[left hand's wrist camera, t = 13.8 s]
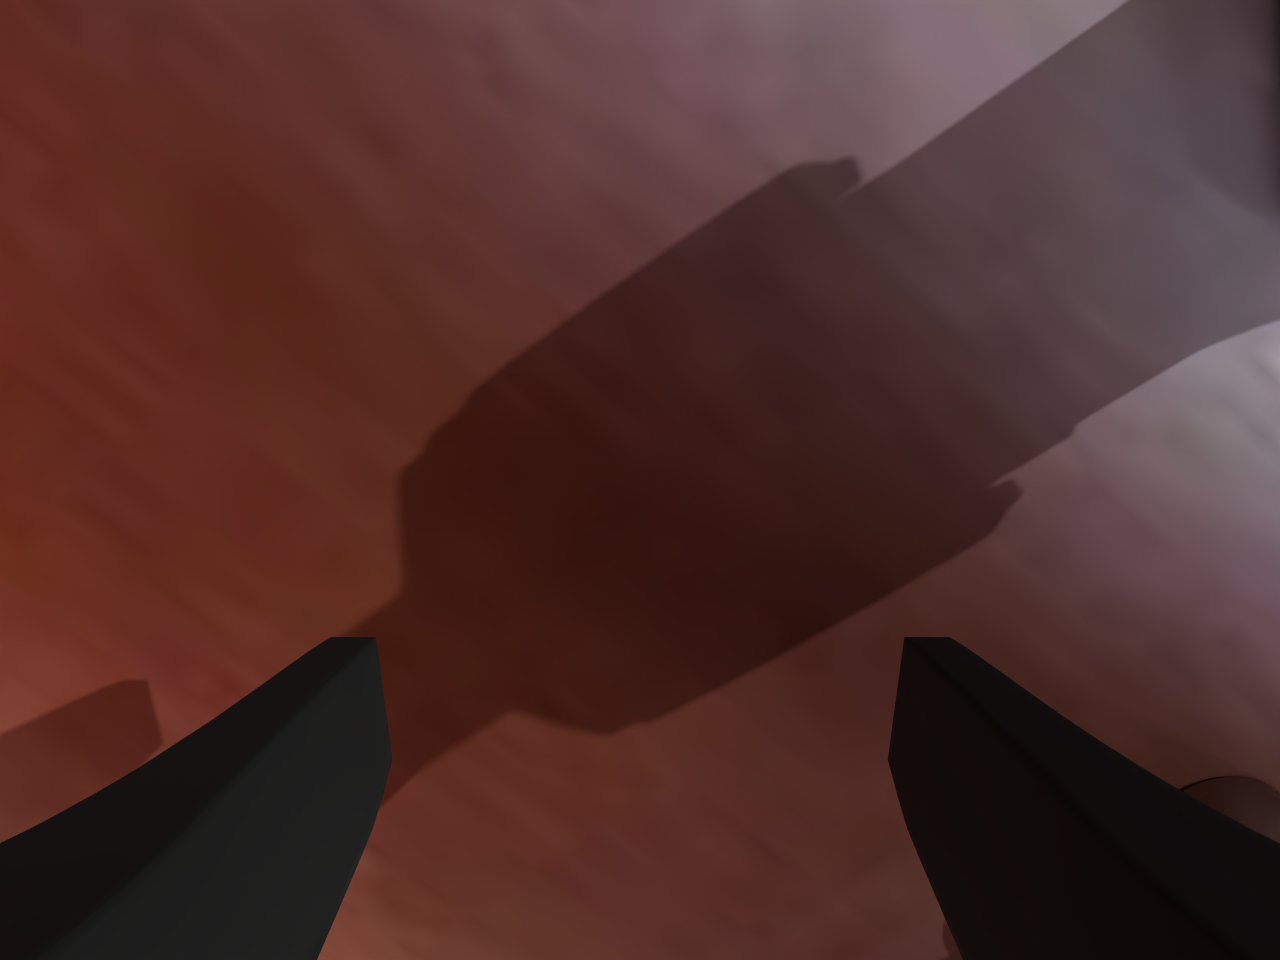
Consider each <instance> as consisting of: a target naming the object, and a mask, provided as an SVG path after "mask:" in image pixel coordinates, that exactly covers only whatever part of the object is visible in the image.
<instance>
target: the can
mask: <svg viewBox="0 0 1280 960" xmlns="http://www.w3.org/2000/svg"><path fill="white" fill-rule="evenodd" d="M1182 792H1184V793H1185V794H1187V795H1189V796H1191V797H1193V798H1195V799H1197V800H1198V801H1200V802H1202V803H1204V804H1206V805H1208V806H1209V807H1211V808H1213V809H1215V810H1217V811H1219V812H1220V813H1222V814H1224V815H1226V816H1228V817H1230V818H1232V819H1233V820H1235V821H1237V822H1239V823H1241V824H1243V825H1244V826H1246V827H1248V828H1250V829H1252V830H1254V831H1256V832H1258V833H1260V834H1262V835H1264V836H1266V837H1268V838H1270V839H1272V840H1274V841H1276V842H1278V843H1280V793H1279V792H1278V791H1277V790H1275V789H1274V788H1273V787H1271V786H1269V785H1268V784H1266V783H1263V782H1261V781H1258V780H1255V779H1251V778H1245V777H1223V778H1216V779H1211V780H1207V781H1204V782H1201V783H1198V784H1195V785H1193V786H1190V787H1188V788H1187V789H1185V790H1183V791H1182Z"/></svg>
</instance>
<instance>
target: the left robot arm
mask: <svg viewBox="0 0 1280 960" xmlns="http://www.w3.org/2000/svg"><path fill="white" fill-rule="evenodd" d="M391 762H392V755H391V747H390V740H389V733H388V725H387V718H386V711H385V703H384V696H383V689H382V681H381V674H380V667H379V659H378V652H377V645H376V637H331V638H329V639H327V640H326V641H324V642H322V643H321V644H319V645H318V646H316V647H315V648H313V649H312V650H310V651H309V652H307V653H306V654H304V655H303V656H301V657H300V658H299V659H297V660H296V661H294V662H293V663H292V664H290V665H289V666H287V667H286V668H285V669H283V670H282V671H280V672H279V673H278V674H276V675H275V676H274V677H272V678H271V679H269V680H268V681H267V682H265V683H264V684H262V685H261V686H260V687H258V688H257V689H255V690H254V691H252V692H251V693H250V694H248V695H247V696H245V697H244V698H243V699H241V700H240V701H238V702H237V703H236V704H234V705H233V706H231V707H230V708H228V709H227V710H226V711H224V712H223V713H221V714H220V715H219V716H217V717H216V718H214V719H213V720H211V721H210V722H208V723H207V724H205V725H204V726H202V727H201V728H199V729H198V730H196V731H194V732H193V733H191V734H190V735H188V736H187V737H185V738H184V739H182V740H181V741H179V742H178V743H176V744H175V745H173V746H171V747H170V748H168V749H167V750H165V751H164V752H162V753H161V754H159V755H158V756H156V757H155V758H153V759H151V760H150V761H148V762H147V763H145V764H144V765H142V766H141V767H139V768H137V769H136V770H134V771H133V772H131V773H129V774H128V775H126V776H124V777H123V778H121V779H119V780H118V781H116V782H114V783H112V784H111V785H109V786H107V787H106V788H104V789H102V790H100V791H99V792H97V793H95V794H93V795H92V796H90V797H88V798H86V799H84V800H82V801H81V802H79V803H77V804H75V805H73V806H72V807H70V808H68V809H66V810H64V811H62V812H61V813H59V814H57V815H55V816H53V817H52V818H50V819H48V820H46V821H44V822H42V823H40V824H38V825H36V826H34V827H32V828H31V829H29V830H27V831H25V832H23V833H20V834H18V835H16V836H14V837H12V838H10V839H8V840H6V841H4V842H2V843H0V960H317V958H318V956H319V954H320V951H321V949H322V947H323V944H324V942H325V940H326V937H327V935H328V933H329V930H330V928H331V926H332V923H333V921H334V919H335V917H336V914H337V912H338V910H339V907H340V905H341V903H342V900H343V898H344V896H345V893H346V891H347V889H348V886H349V884H350V882H351V879H352V877H353V875H354V872H355V870H356V867H357V865H358V863H359V860H360V858H361V856H362V853H363V851H364V848H365V846H366V844H367V841H368V839H369V836H370V834H371V831H372V829H373V826H374V822H375V819H376V816H377V812H378V809H379V806H380V802H381V799H382V795H383V792H384V788H385V784H386V780H387V777H388V773H389V769H390V765H391ZM888 762H889V765H890V769H891V773H892V777H893V780H894V784H895V788H896V792H897V795H898V799H899V802H900V806H901V809H902V812H903V816H904V819H905V822H906V826H907V829H908V831H909V834H910V836H911V839H912V841H913V844H914V846H915V848H916V851H917V853H918V856H919V858H920V860H921V863H922V865H923V867H924V870H925V872H926V875H927V877H928V879H929V882H930V884H931V886H932V889H933V891H934V893H935V896H936V898H937V900H938V903H939V905H940V907H941V910H942V912H943V914H944V916H945V919H946V921H947V923H948V926H949V928H950V930H951V933H952V935H953V937H954V940H955V942H956V944H957V947H958V949H959V951H960V954H961V956H962V958H963V960H1280V843H1278V842H1276V841H1274V840H1272V839H1270V838H1268V837H1266V836H1264V835H1262V834H1260V833H1258V832H1256V831H1254V830H1252V829H1250V828H1248V827H1246V826H1244V825H1243V824H1241V823H1239V822H1237V821H1235V820H1233V819H1232V818H1230V817H1228V816H1226V815H1224V814H1222V813H1220V812H1219V811H1217V810H1215V809H1213V808H1211V807H1209V806H1208V805H1206V804H1204V803H1202V802H1200V801H1198V800H1197V799H1195V798H1193V797H1191V796H1189V795H1187V794H1185V793H1184V792H1182V791H1180V790H1179V789H1177V788H1175V787H1173V786H1172V785H1170V784H1168V783H1167V782H1165V781H1163V780H1161V779H1160V778H1158V777H1156V776H1155V775H1153V774H1151V773H1150V772H1148V771H1147V770H1145V769H1143V768H1142V767H1140V766H1139V765H1137V764H1135V763H1134V762H1132V761H1131V760H1129V759H1128V758H1126V757H1124V756H1123V755H1121V754H1120V753H1118V752H1116V751H1115V750H1113V749H1112V748H1110V747H1108V746H1107V745H1105V744H1104V743H1102V742H1101V741H1099V740H1098V739H1096V738H1095V737H1093V736H1092V735H1090V734H1089V733H1087V732H1086V731H1084V730H1083V729H1081V728H1080V727H1078V726H1077V725H1075V724H1074V723H1072V722H1071V721H1069V720H1068V719H1066V718H1065V717H1063V716H1062V715H1061V714H1059V713H1058V712H1056V711H1055V710H1053V709H1052V708H1051V707H1049V706H1048V705H1046V704H1045V703H1043V702H1042V701H1041V700H1039V699H1038V698H1036V697H1035V696H1034V695H1032V694H1031V693H1029V692H1028V691H1027V690H1025V689H1024V688H1022V687H1021V686H1020V685H1018V684H1017V683H1015V682H1014V681H1013V680H1011V679H1010V678H1008V677H1007V676H1006V675H1004V674H1003V673H1001V672H1000V671H999V670H997V669H996V668H994V667H993V666H992V665H990V664H989V663H987V662H986V661H985V660H983V659H982V658H980V657H979V656H978V655H976V654H975V653H973V652H972V651H970V650H969V649H967V648H966V647H964V646H963V645H961V644H960V643H958V642H957V641H955V640H953V639H952V638H950V637H904V645H903V652H902V659H901V667H900V674H899V681H898V689H897V696H896V703H895V711H894V718H893V725H892V733H891V740H890V747H889V755H888Z"/></svg>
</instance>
